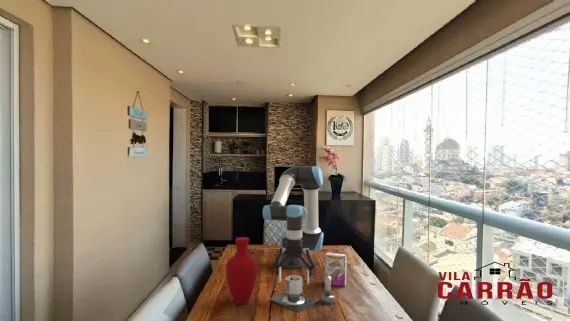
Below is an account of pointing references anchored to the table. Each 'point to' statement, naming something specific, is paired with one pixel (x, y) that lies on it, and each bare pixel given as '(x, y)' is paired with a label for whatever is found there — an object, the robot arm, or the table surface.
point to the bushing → (293, 284)
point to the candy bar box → (336, 268)
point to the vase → (241, 272)
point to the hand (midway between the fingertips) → (294, 282)
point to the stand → (327, 292)
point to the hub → (294, 301)
